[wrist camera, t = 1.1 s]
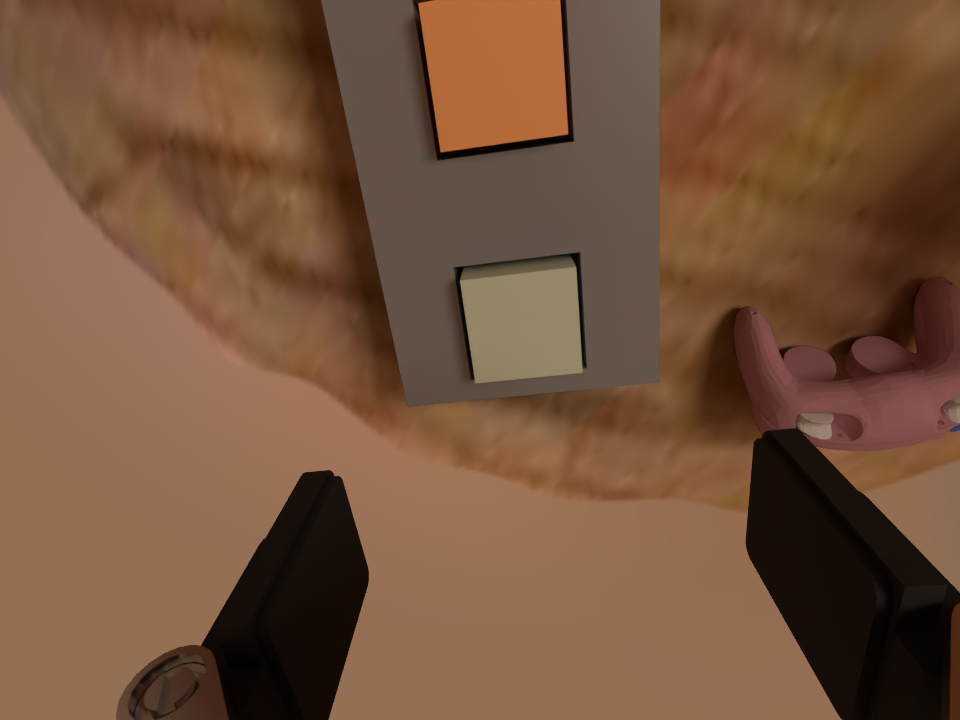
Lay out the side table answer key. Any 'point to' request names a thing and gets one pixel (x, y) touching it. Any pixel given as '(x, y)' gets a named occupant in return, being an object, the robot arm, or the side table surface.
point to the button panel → (510, 194)
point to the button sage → (522, 318)
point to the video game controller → (860, 380)
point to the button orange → (495, 70)
